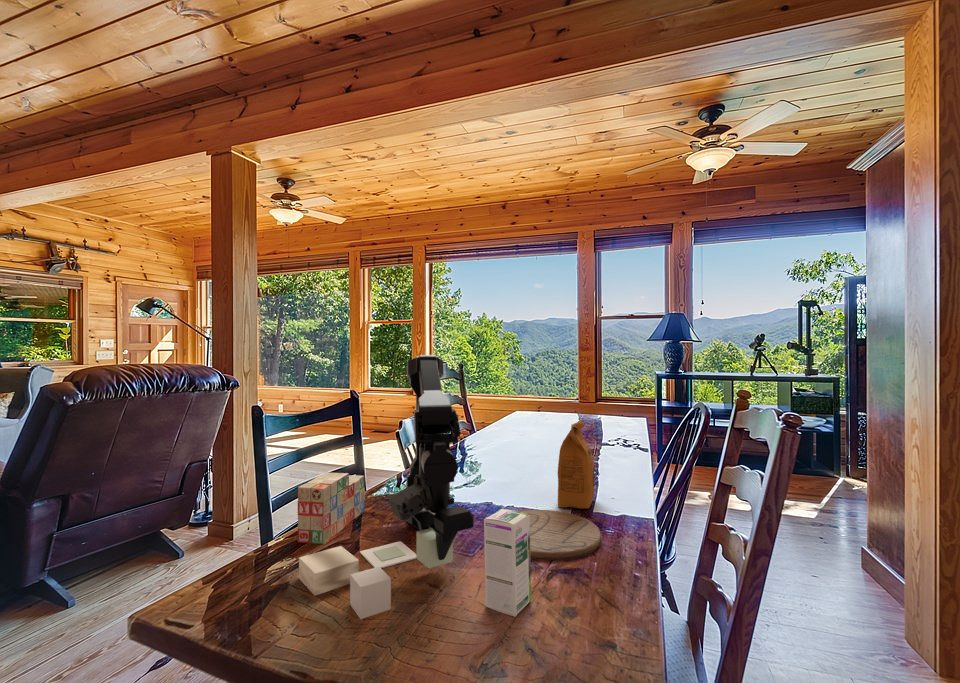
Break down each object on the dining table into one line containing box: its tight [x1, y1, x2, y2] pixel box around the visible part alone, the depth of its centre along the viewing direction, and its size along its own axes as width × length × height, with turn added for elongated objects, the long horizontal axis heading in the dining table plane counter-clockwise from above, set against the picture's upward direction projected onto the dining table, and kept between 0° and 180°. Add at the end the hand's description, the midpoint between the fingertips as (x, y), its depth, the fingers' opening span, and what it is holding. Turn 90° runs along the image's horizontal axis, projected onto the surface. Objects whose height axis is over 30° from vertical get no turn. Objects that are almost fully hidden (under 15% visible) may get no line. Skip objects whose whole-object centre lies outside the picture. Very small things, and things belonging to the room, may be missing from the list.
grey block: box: [349, 567, 392, 620], centre depth 75 cm, size 5×5×5 cm
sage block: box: [415, 528, 454, 569], centre depth 86 cm, size 5×5×5 cm
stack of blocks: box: [297, 472, 366, 545], centre depth 110 cm, size 21×6×12 cm, turn 170°
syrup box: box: [483, 508, 532, 618], centre depth 75 cm, size 6×6×14 cm
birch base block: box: [298, 545, 360, 596], centre depth 84 cm, size 8×8×4 cm
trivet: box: [519, 508, 602, 561], centre depth 104 cm, size 25×25×2 cm
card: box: [359, 540, 418, 569], centre depth 93 cm, size 9×9×1 cm
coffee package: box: [557, 420, 596, 510], centre depth 125 cm, size 10×12×22 cm
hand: (434, 554), depth 86 cm, fingers closed on sage block, 5 cm apart
